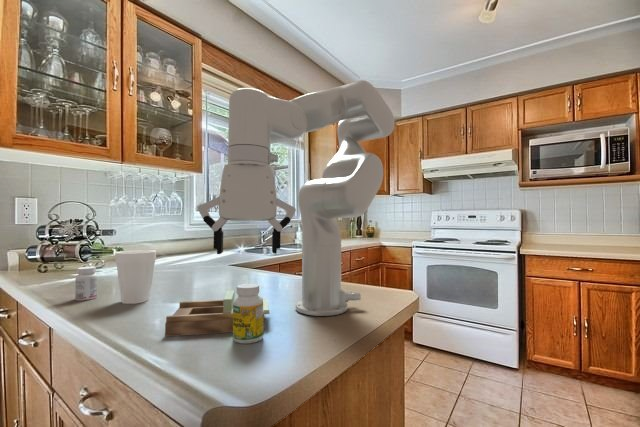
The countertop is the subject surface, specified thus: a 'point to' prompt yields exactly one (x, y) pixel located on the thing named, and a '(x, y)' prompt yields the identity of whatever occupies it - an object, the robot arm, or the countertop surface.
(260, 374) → the countertop surface
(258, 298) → the supplement bottle
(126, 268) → the foam cup
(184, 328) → the wooden tray
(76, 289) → the pill bottle
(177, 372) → the countertop surface
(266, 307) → the cover
